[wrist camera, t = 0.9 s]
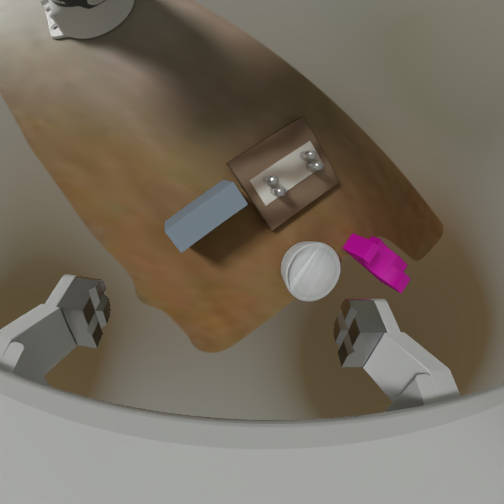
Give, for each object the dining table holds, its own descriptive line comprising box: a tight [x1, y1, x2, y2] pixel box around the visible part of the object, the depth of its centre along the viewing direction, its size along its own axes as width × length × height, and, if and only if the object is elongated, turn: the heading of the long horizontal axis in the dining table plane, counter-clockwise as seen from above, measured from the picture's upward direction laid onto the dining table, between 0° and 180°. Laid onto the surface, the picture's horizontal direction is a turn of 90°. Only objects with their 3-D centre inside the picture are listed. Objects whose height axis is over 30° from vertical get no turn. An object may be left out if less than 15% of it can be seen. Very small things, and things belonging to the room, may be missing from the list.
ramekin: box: [281, 241, 340, 301], centre depth 56 cm, size 11×11×5 cm
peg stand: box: [226, 117, 339, 231], centre depth 50 cm, size 14×16×6 cm
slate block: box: [165, 180, 248, 253], centre depth 47 cm, size 4×12×8 cm, turn 124°
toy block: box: [343, 233, 410, 293], centre depth 59 cm, size 15×6×8 cm, turn 54°
